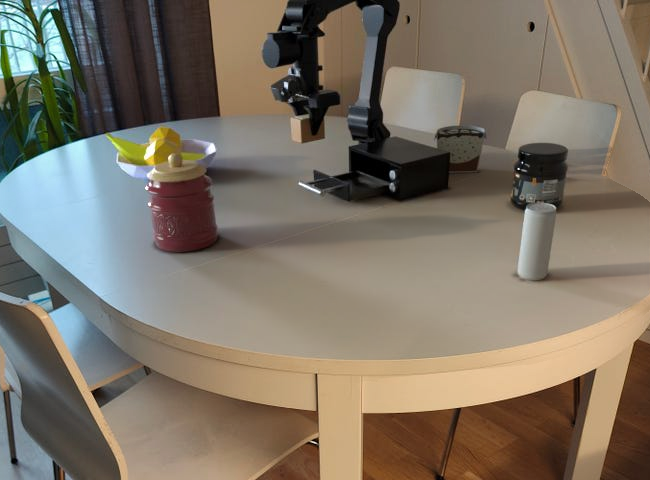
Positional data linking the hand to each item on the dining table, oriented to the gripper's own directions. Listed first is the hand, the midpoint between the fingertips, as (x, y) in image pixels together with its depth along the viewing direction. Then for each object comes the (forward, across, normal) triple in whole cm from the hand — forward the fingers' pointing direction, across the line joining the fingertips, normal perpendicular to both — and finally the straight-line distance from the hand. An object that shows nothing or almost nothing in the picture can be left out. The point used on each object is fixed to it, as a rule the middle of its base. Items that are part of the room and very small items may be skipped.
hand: (308, 133), depth 159 cm
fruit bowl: (+13, -35, -24) cm, 44 cm away
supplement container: (+13, +44, +29) cm, 54 cm away
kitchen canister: (+12, +14, -39) cm, 43 cm away
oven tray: (+11, +11, +1) cm, 16 cm away
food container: (+13, +13, +35) cm, 39 cm away
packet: (+1, 0, 0) cm, 1 cm away
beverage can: (+13, +68, +1) cm, 69 cm away
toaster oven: (+12, +13, +16) cm, 24 cm away
